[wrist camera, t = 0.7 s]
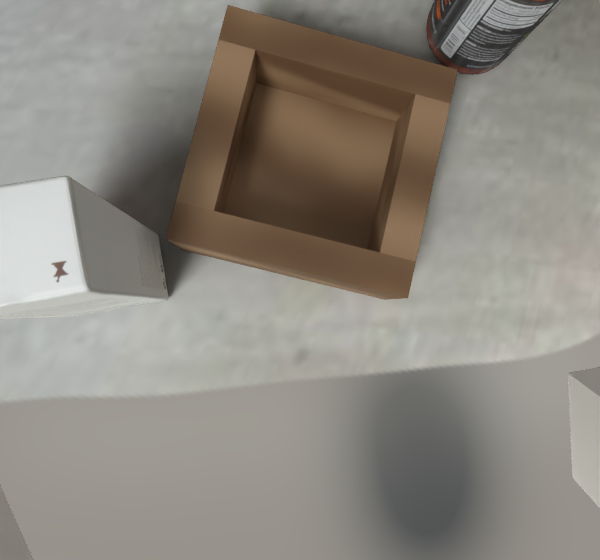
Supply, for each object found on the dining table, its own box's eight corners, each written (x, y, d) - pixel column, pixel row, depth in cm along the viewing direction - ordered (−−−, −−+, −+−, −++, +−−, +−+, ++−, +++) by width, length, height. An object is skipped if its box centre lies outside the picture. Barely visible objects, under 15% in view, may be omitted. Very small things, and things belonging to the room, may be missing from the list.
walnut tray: (233, 53, 28) (227, 4, 23) (427, 106, 29) (457, 69, 24) (182, 249, 27) (165, 238, 22) (384, 299, 28) (407, 298, 23)
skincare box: (159, 232, 27) (73, 171, 15) (170, 300, 27) (92, 294, 15) (57, 248, 26) (-117, 198, 14) (68, 318, 26) (-99, 327, 14)
